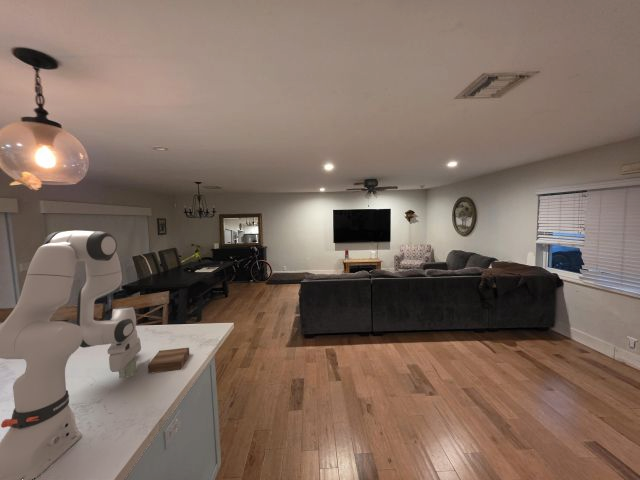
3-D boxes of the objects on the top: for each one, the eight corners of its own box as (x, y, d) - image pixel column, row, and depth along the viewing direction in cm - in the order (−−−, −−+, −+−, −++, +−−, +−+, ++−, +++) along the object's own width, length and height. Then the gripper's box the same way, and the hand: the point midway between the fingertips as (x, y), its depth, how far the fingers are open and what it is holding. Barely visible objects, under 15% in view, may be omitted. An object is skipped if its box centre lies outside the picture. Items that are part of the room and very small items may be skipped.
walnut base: (181, 369, 125) (180, 361, 125) (148, 373, 122) (147, 365, 122) (189, 354, 139) (189, 347, 138) (159, 358, 136) (159, 350, 136)
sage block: (131, 376, 120) (130, 365, 120) (119, 377, 119) (118, 367, 119) (137, 370, 125) (136, 360, 125) (125, 371, 124) (124, 361, 124)
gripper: (129, 332, 131) (131, 359, 132) (104, 352, 111) (107, 384, 112) (143, 331, 132) (145, 358, 133) (121, 350, 112) (124, 382, 113)
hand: (128, 370), depth 122 cm, fingers open, 8 cm apart
